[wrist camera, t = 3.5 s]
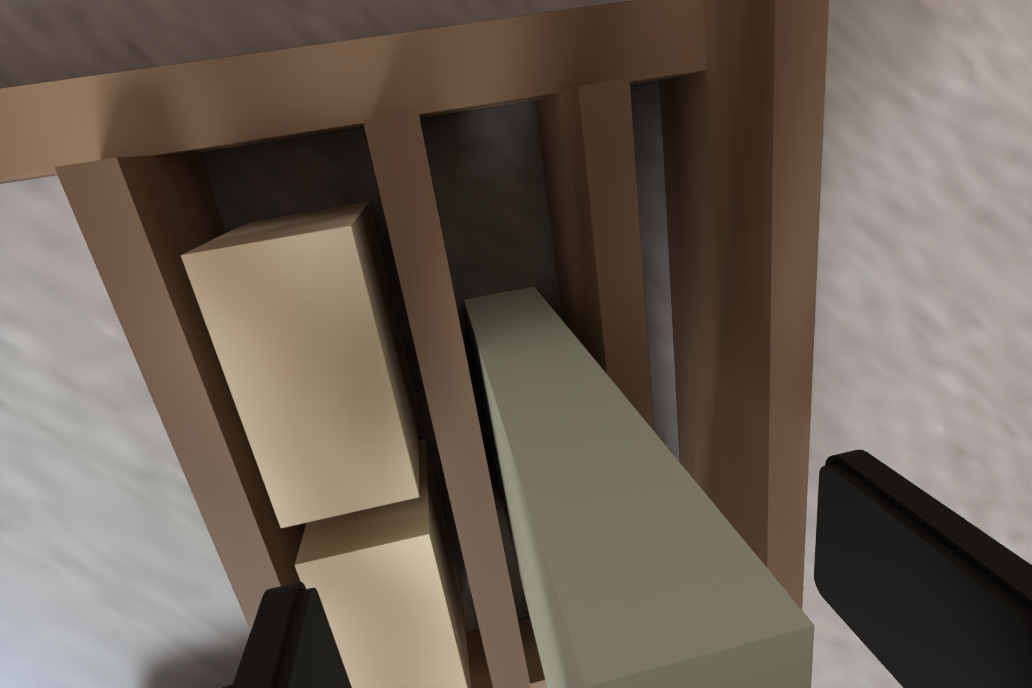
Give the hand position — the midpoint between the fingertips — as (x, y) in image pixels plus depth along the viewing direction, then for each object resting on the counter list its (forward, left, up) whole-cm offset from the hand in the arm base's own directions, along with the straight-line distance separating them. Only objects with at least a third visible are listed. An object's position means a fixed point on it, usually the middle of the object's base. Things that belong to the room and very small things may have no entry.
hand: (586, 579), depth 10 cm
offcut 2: (+4, +4, -7) cm, 9 cm away
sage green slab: (0, 0, -7) cm, 7 cm away
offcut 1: (+4, -3, -7) cm, 9 cm away
